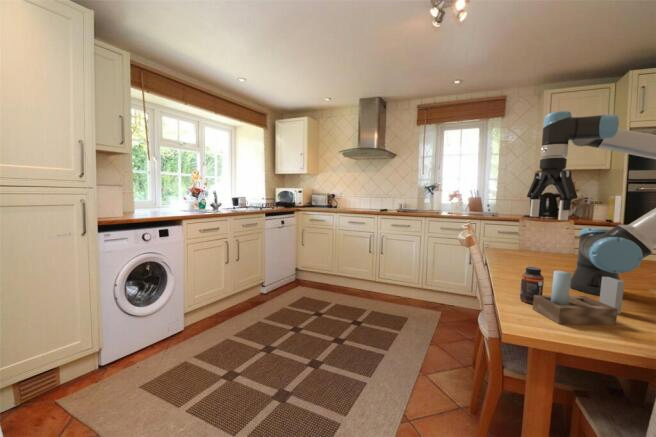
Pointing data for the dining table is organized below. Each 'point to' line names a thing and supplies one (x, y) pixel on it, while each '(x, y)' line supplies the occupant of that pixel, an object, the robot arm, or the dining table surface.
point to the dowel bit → (561, 287)
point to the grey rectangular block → (612, 292)
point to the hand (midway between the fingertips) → (547, 218)
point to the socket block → (576, 310)
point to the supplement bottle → (531, 284)
